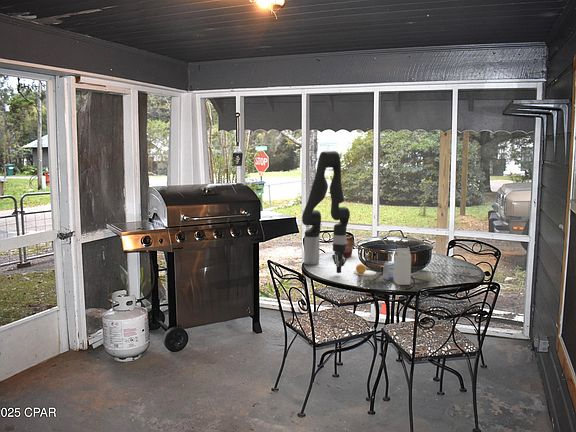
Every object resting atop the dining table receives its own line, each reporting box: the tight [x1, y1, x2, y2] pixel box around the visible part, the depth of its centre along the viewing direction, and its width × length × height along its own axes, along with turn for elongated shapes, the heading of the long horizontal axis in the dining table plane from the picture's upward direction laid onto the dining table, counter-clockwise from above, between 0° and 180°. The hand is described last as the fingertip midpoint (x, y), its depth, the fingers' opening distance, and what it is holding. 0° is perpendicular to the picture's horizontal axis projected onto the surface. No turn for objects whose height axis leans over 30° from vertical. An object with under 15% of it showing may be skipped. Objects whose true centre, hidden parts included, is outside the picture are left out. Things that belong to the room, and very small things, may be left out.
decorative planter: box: [344, 234, 355, 258], centre depth 334 cm, size 20×12×14 cm, turn 159°
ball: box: [355, 263, 367, 274], centre depth 287 cm, size 6×6×6 cm
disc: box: [353, 269, 377, 277], centre depth 289 cm, size 13×13×1 cm
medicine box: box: [382, 262, 394, 281], centre depth 276 cm, size 8×4×9 cm, turn 118°
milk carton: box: [392, 247, 412, 286], centre depth 266 cm, size 7×7×19 cm
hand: (338, 272), depth 282 cm, fingers closed
